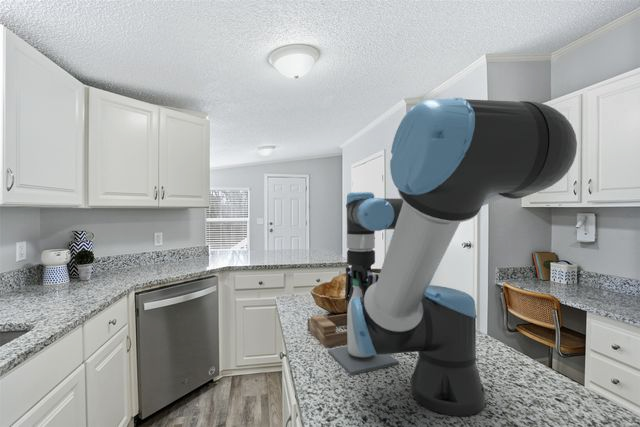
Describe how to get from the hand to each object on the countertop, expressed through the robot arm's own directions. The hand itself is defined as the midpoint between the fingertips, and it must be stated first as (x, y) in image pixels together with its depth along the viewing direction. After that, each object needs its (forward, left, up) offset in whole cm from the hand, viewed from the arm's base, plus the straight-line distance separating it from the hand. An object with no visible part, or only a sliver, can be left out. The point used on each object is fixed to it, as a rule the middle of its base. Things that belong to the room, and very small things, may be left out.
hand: (361, 333), depth 91 cm
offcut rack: (+18, -2, -7) cm, 19 cm away
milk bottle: (0, 0, -5) cm, 5 cm away
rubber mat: (0, 0, -7) cm, 7 cm away
